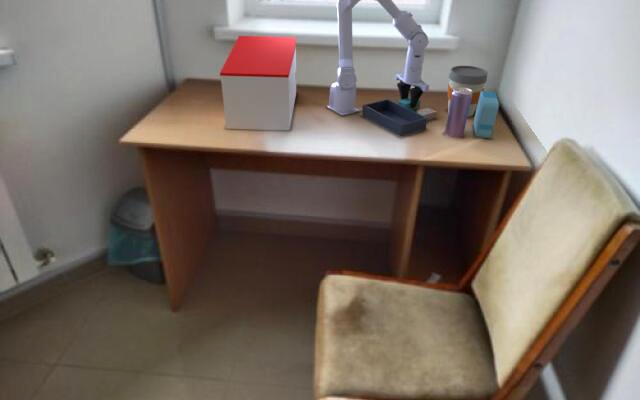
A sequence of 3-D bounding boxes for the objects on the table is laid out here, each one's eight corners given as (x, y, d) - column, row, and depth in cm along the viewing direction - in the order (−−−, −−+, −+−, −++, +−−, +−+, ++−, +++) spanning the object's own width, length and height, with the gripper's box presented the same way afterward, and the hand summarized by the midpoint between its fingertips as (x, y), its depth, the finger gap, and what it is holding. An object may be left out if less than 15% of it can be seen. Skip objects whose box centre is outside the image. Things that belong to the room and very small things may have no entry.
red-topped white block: (296, 92, 172) (295, 37, 160) (289, 130, 142) (288, 66, 131) (243, 90, 172) (239, 35, 160) (225, 128, 143) (218, 64, 131)
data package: (490, 140, 139) (499, 104, 133) (475, 138, 140) (484, 102, 133) (486, 125, 149) (495, 91, 142) (473, 123, 150) (481, 89, 143)
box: (361, 116, 153) (362, 104, 151) (386, 110, 158) (387, 98, 156) (400, 137, 140) (402, 125, 137) (425, 130, 145) (427, 117, 142)
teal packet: (396, 107, 157) (397, 100, 155) (411, 103, 160) (412, 96, 159) (404, 111, 154) (405, 104, 152) (419, 107, 157) (420, 100, 156)
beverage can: (459, 140, 139) (469, 95, 130) (441, 136, 141) (450, 91, 133) (465, 134, 143) (475, 89, 134) (447, 129, 145) (456, 85, 137)
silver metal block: (412, 119, 152) (413, 111, 151) (426, 115, 155) (427, 107, 154) (420, 123, 149) (421, 115, 148) (435, 119, 153) (436, 111, 151)
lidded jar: (457, 121, 151) (466, 78, 143) (435, 108, 161) (442, 67, 152) (486, 116, 156) (496, 74, 147) (463, 103, 165) (471, 63, 157)
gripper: (438, 70, 146) (431, 109, 153) (407, 59, 156) (403, 96, 163) (422, 74, 142) (416, 113, 150) (392, 62, 152) (388, 100, 160)
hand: (408, 104), depth 156 cm, fingers closed on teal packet, 4 cm apart
